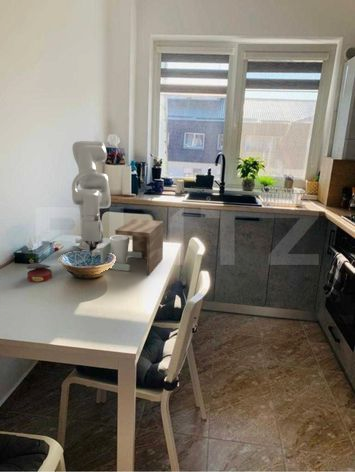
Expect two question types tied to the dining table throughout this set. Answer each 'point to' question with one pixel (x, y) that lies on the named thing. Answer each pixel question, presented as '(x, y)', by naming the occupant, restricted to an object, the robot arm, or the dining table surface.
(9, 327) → the dining table surface
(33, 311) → the dining table surface
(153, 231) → the counter shelf
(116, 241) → the foam cup
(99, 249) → the pull out rack
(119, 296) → the dining table surface
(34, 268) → the canned food
